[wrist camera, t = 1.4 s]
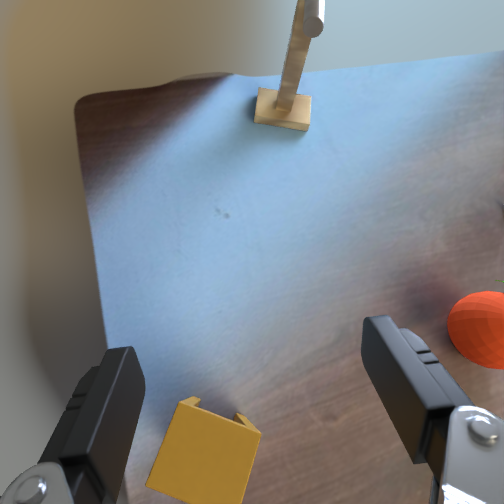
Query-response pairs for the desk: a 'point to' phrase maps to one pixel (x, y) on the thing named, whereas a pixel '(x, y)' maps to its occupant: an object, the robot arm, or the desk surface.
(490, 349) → the clementine
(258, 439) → the yellow goalpost frame
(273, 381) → the desk surface
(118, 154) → the desk surface
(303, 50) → the rack
